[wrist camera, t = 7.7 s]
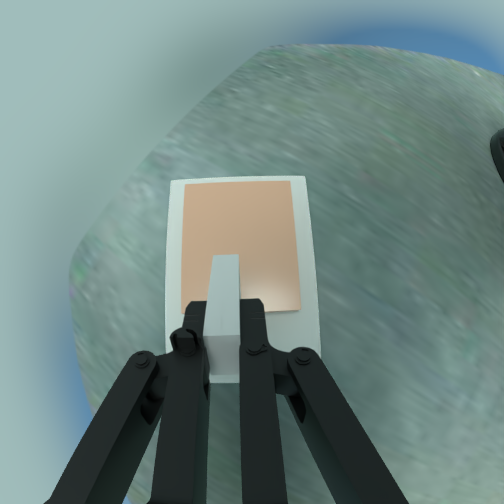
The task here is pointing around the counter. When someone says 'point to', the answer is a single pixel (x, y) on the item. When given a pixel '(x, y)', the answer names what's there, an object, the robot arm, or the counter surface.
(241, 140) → the counter surface
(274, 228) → the terracotta tile
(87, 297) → the counter surface
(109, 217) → the counter surface
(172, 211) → the white rectangular board
